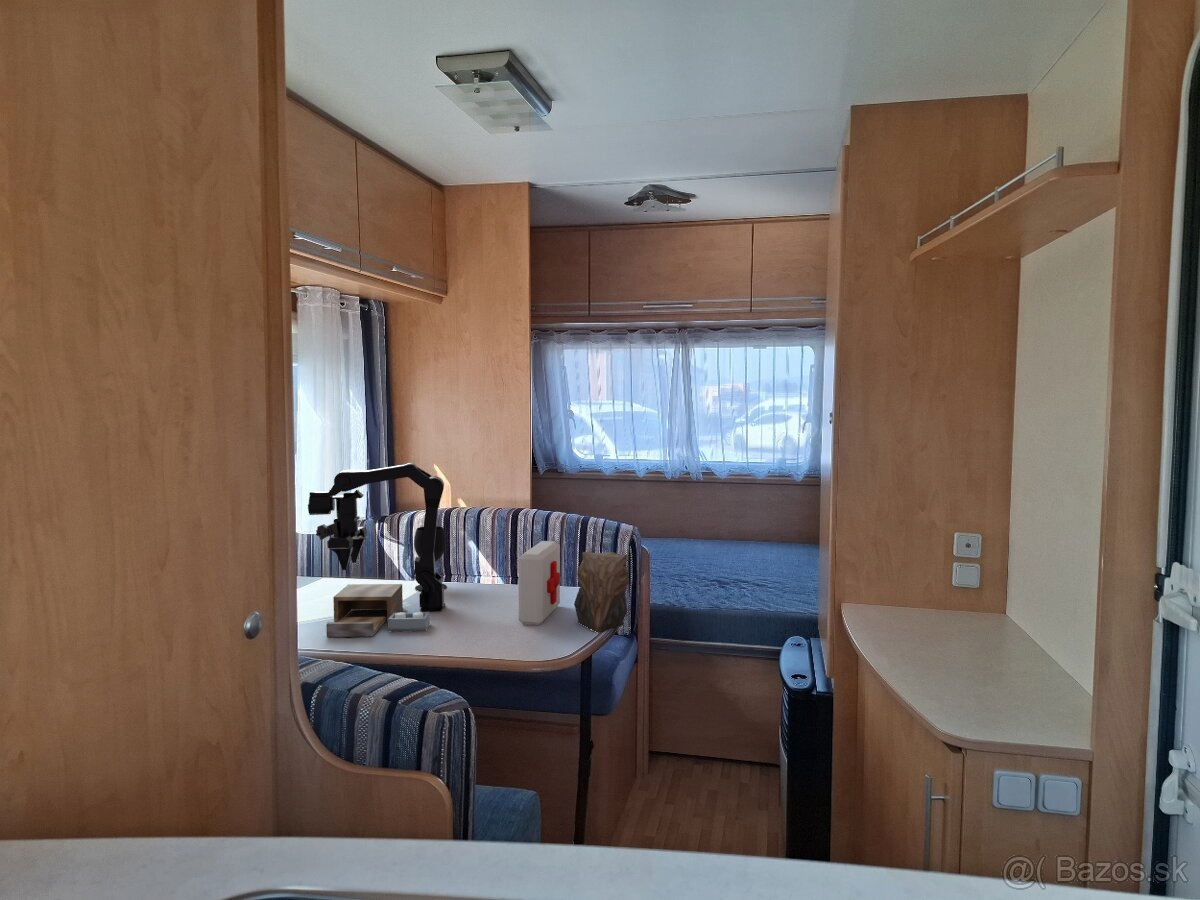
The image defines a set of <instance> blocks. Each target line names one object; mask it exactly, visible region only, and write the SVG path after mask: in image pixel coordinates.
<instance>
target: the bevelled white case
mask: <svg viewBox="0 0 1200 900" xmlns="http://www.w3.org/2000/svg"><path fill="white" fill-rule="evenodd" d="M517 561H518V621H519V622H521V623H522V624H523V625H524V624H527V625H526V626H540V625H541V624H542V623H543V622H544V620H546V619H547V618H548V617H549V615H550V614H551V613H552V612H553V611H554V610H555V609H556V608H557V607H558V606H559V604H561V546H560V544H558V542H557V541H552V540H541V541H540V542H538V543H537V544H535V545H534V546H533V547H531V548H530V549H528V550H527V551H526V552H524V553H523V554H522V555H520V556H519V557H518V560H517Z"/></svg>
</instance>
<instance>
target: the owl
mask: <svg viewBox="0 0 1200 900" xmlns="http://www.w3.org/2000/svg"><path fill="white" fill-rule="evenodd" d="M581 556H582V561H581V563H580V565H579V567H578V569H577V581H578V584H579V588H578V592H577V594H576V597H575V601H574V604H573V607H574V609H575V614H576V617H577V624H578V623H580V624H582V625H581V626H583V625H584V626H586V627H588V628H589V629H592V630H594V631H596V632H598V633H597V634H600V633H603V632H607V631H609V630H611V629H615V628H617V627H621V626H623V625H624V624H625V623H624V619H625V617H626V615H627V613H628V607H627V599H626V591H627V587H628V585H629V569H628V567H627V566H628V565H627V561H628V554H620V553H617V552H614V551H606V552H592V551H582V553H581ZM580 624H579V625H580ZM586 627H585V628H586ZM588 628H587V629H588ZM589 629H588V630H589ZM594 631H593V632H594ZM596 632H595V633H596Z"/></svg>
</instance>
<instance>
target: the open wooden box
mask: <svg viewBox="0 0 1200 900" xmlns="http://www.w3.org/2000/svg"><path fill="white" fill-rule="evenodd" d="M332 600H333V622H338V621H339V620H340V619H341V618H342V617H347V615H349V613H351V611H386V621H387V624H388V619H389V617H390V616H391V615H392V614H393V613H400V612H402V610H403V609H404V608H403V607H404V605H403V604H404V603H403V602H404V601H403V583H373V584H372V583H371V584H370V583H364V584H362V583H361V584H360V583H359V584H357V583H356V584H355V583H354V584H353V583H352V584H351V583H349V584H347V585H345V587H343V588H342V589H341V590H339V592H337V593H336V594H335V595H334V596H333V598H332Z"/></svg>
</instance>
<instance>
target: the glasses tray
mask: <svg viewBox="0 0 1200 900" xmlns="http://www.w3.org/2000/svg"><path fill="white" fill-rule="evenodd" d="M430 612H431V611H425V612H424V611H421V612H419V611H418V612H413V611H412V612H411V611H410V612H408V611H407V612H404V611H403V612H402V611H400V613H393V614H392V615H391V616H390V617H389V619H388V623H387V625H388V626H387V627H388V628H387V631H412V632H426V631H427V630H428V628H429V627H430V625H431V624H430V622H431V621H430V620H431V619H430V618H431V617H430V616H431V615H430ZM429 624H430V625H429ZM428 626H429V627H428ZM426 629H427V630H426Z"/></svg>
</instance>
